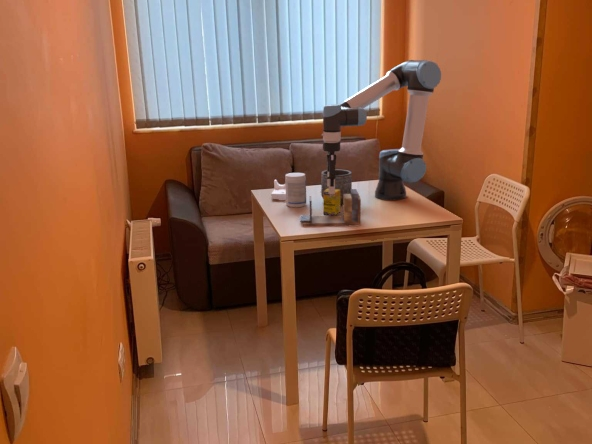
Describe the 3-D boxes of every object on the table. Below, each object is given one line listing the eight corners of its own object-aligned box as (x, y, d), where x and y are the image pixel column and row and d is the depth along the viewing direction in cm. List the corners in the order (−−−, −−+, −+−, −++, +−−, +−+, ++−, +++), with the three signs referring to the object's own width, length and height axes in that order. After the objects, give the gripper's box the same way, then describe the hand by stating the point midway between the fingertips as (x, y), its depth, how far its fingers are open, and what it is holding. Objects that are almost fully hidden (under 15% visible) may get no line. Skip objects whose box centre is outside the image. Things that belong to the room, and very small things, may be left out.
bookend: (311, 216, 254) (311, 195, 251) (311, 221, 246) (311, 200, 243) (300, 216, 254) (300, 196, 251) (300, 221, 246) (299, 201, 244)
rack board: (358, 217, 255) (358, 188, 251) (360, 225, 245) (360, 194, 241) (302, 218, 256) (302, 189, 252) (302, 226, 245) (301, 195, 241)
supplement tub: (310, 205, 276) (309, 174, 272) (293, 209, 271) (292, 177, 267) (298, 201, 284) (298, 171, 279) (282, 204, 279) (281, 174, 274)
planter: (323, 199, 287) (323, 168, 283) (353, 200, 284) (353, 169, 280) (319, 206, 274) (318, 175, 269) (349, 207, 271) (349, 176, 266)
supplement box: (323, 215, 260) (323, 191, 257) (328, 211, 265) (327, 188, 262) (335, 216, 258) (335, 192, 255) (340, 213, 263) (340, 189, 260)
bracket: (275, 194, 299) (274, 179, 297) (289, 194, 298) (288, 179, 296) (271, 200, 286) (271, 185, 284) (286, 201, 286) (285, 185, 284)
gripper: (321, 137, 264) (321, 183, 270) (323, 146, 240) (323, 196, 246) (338, 137, 264) (338, 183, 270) (342, 146, 240) (341, 196, 246)
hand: (331, 189), depth 258 cm, fingers open, 13 cm apart
